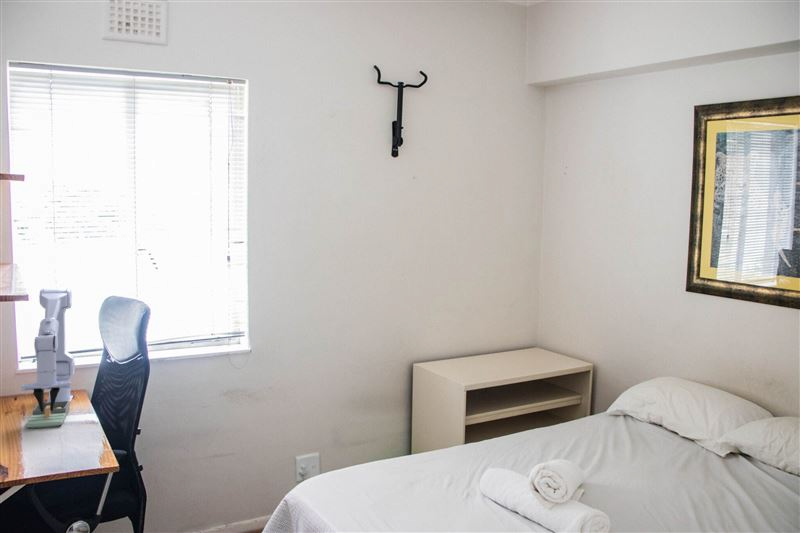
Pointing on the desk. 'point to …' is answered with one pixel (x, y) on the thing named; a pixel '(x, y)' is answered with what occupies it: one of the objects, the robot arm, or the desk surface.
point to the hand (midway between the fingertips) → (47, 410)
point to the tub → (58, 408)
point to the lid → (46, 419)
